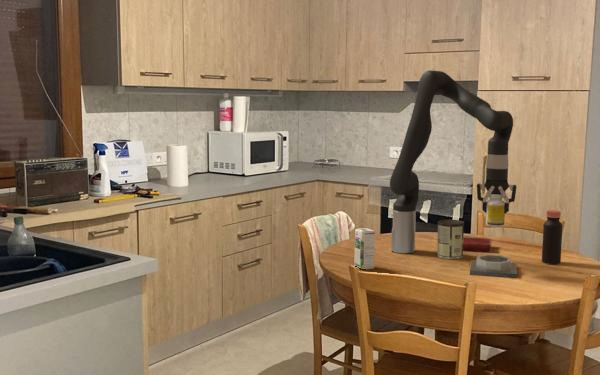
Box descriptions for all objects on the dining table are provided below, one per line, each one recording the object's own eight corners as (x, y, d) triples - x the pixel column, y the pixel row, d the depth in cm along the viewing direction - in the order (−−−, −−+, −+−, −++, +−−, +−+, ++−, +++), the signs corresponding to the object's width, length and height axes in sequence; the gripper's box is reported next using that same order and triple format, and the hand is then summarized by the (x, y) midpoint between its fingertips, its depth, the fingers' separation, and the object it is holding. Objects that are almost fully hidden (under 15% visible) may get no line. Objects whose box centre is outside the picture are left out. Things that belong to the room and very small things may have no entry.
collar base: (469, 274, 229) (470, 262, 229) (471, 263, 244) (472, 252, 244) (516, 278, 225) (517, 265, 224) (515, 266, 240) (516, 255, 239)
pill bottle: (505, 227, 228) (506, 195, 227) (486, 226, 230) (487, 194, 228) (503, 224, 235) (504, 192, 233) (484, 223, 236) (486, 192, 235)
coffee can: (445, 251, 264) (446, 218, 262) (467, 256, 257) (469, 221, 255) (431, 256, 256) (432, 221, 255) (454, 260, 249) (455, 225, 248)
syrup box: (353, 266, 240) (354, 228, 238) (367, 265, 243) (368, 227, 241) (361, 270, 235) (361, 231, 233) (375, 268, 237) (375, 230, 235)
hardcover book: (491, 254, 262) (491, 244, 262) (438, 250, 268) (439, 240, 268) (491, 247, 273) (491, 238, 273) (441, 244, 280) (441, 235, 279)
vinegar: (546, 259, 251) (548, 209, 248) (563, 262, 246) (566, 211, 244) (538, 262, 246) (541, 211, 244) (555, 265, 241) (558, 213, 239)
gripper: (476, 167, 228) (474, 213, 230) (518, 168, 224) (516, 215, 226) (476, 165, 235) (475, 210, 237) (518, 166, 231) (516, 212, 233)
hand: (495, 212), depth 232 cm, fingers closed on pill bottle, 6 cm apart
